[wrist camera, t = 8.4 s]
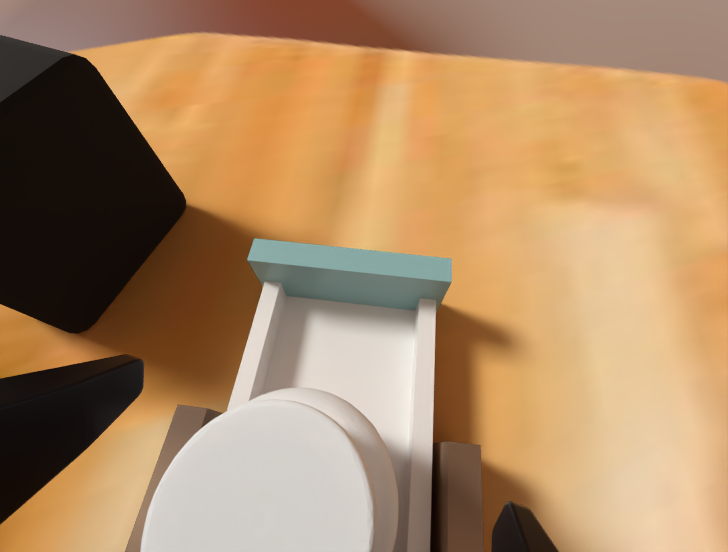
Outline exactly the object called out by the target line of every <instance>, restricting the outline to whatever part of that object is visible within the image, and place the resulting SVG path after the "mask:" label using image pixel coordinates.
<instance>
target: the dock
mask: <svg viewBox="0 0 728 552" xmlns="http://www.w3.org/2000/svg"><path fill="white" fill-rule="evenodd" d="M221 414H223V413H220V412H217V411H213V410H210V409H206V408H199V407H192V406H184V405H178V406H177V408H176V411H175V414H174V417H173V419H172V422H171V425H170V428H169V430H168V433H167V436H166V439H165V442H164V444H163V447H162V450H161V453H160V455H159V458H158V461H157V464H156V467H155V469H154V472H153V475H152V478H151V480H150V483H149V486H148V489H147V491H146V494H145V497H144V500H143V503H142V505H141V508H140V511H139V514H138V516H137V519H136V522H135V525H134V528H133V530H132V533H131V536H130V539H129V541H128V544H127V547H126V550H125V552H140V551H141V541H142V535H143V530H144V525H145V521H146V517H147V513H148V509H149V506H150V504H151V501H152V498H153V496H154V493H155V491H156V489H157V487H158V485H159V483H160V481H161V479H162V477H163V475H164V473H165V472H166V470H167V469H168V467H169V465H170V464H171V462H172V461H173V459H174V457H175V456H176V455H177V454H178V452H179V451H180V450H181V449H182V448H183V446H184V445H185V444H186V443H187V442H188V441H189V440H190V439H191V438H192V437H193V436H194V435H195V433H197V432H198V431H199V430H200V429H201V428H203V427H204V426H205V425H206V424H208V423H209V422H210V421H212V420H213V419H215V418H216V417H218V416H220V415H221ZM430 552H484V534H483V506H482V478H481V450H480V445H474V444H466V443H459V442H452V441H445V442H440V443H434V444H433V447H432V489H431V530H430Z"/></svg>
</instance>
